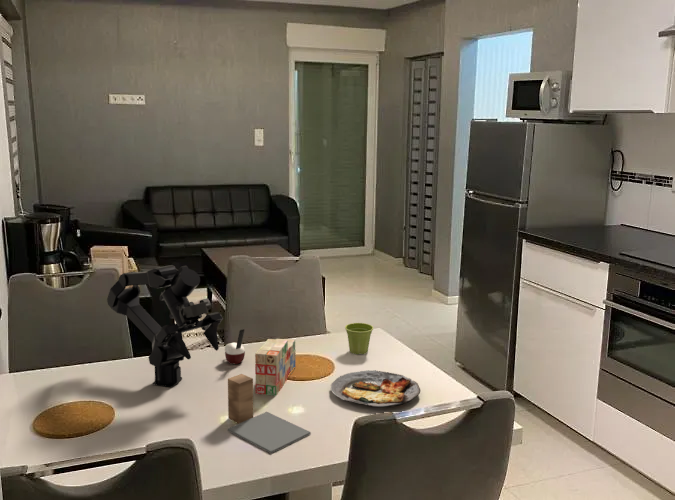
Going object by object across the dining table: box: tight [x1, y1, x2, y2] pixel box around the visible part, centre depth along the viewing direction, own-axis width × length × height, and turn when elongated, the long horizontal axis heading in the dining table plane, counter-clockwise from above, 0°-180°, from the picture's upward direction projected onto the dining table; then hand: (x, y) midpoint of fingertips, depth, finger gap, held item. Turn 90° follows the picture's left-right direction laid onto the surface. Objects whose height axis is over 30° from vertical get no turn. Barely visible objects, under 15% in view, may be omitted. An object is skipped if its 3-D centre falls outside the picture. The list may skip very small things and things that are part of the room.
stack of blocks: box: [254, 338, 297, 396], centre depth 188 cm, size 21×6×12 cm, turn 169°
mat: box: [227, 411, 312, 455], centre depth 157 cm, size 16×13×1 cm
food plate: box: [330, 370, 421, 408], centre depth 181 cm, size 25×23×4 cm
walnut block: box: [227, 373, 254, 424], centre depth 163 cm, size 4×4×11 cm
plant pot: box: [344, 322, 374, 356], centre depth 213 cm, size 9×9×9 cm
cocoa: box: [224, 328, 246, 365], centre depth 201 cm, size 10×6×12 cm, turn 16°
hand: (203, 354), depth 172 cm, fingers open, 9 cm apart
